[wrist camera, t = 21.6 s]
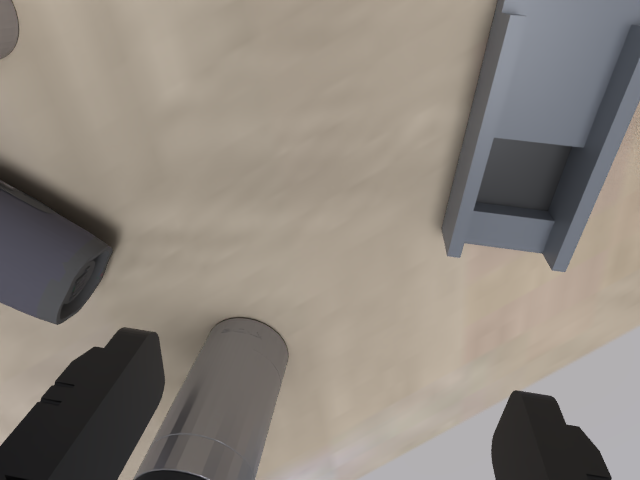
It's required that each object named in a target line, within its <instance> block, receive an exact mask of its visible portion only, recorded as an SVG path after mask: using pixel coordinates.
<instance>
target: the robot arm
mask: <svg viewBox="0 0 640 480" xmlns="http://www.w3.org/2000/svg"><path fill="white" fill-rule="evenodd" d="M287 362H288V350H287V347H286V345H285V343H284V341H283V339H282V338H281V337H280V336H279V334H278V333H276V332H275V331H274V330H273V329H272V328H270V327H268V326H267V325H265V324H263V323H260V322H258V321H255V320H251V319H245V318H234V319H228V320H225V321H222V322H220V323H219V324H217V325H216V326H215V327H214V328H213V329H212V330H211V332H210V334H209V335H208V337H207V339H206V341H205V343H204V345H203V347H202V349H201V350H200V352H199V354H198V356H197V358H196V360H195V361H194V363H193V365H192V367H191V369H190V371H189V373H188V375H187V377H186V379H185V381H184V383H183V384H182V386H181V388H180V390H179V392H178V394H177V396H176V398H175V400H174V402H173V404H172V406H171V407H170V409H169V411H168V413H167V415H166V417H165V419H164V421H163V423H162V425H161V427H160V429H159V430H158V432H157V434H156V436H155V438H154V440H153V442H152V444H151V446H150V448H149V450H148V452H147V454H146V456H145V458H144V460H143V461H142V463H141V465H140V467H139V469H138V471H137V473H136V475H135V477H134V479H133V480H255V477H256V474H257V470H258V466H259V463H260V459H261V455H262V452H263V448H264V445H265V441H266V437H267V434H268V430H269V426H270V423H271V419H272V415H273V412H274V408H275V405H276V401H277V397H278V394H279V391H280V387H281V383H282V380H283V376H284V373H285V369H286V365H287ZM164 384H165V376H164V369H163V362H162V355H161V349H160V342H159V337H158V334H157V333H156V332H151V331H144V330H138V329H132V328H125V327H124V328H121V329H120V330H118V331H117V332H116V334H115V335H114V336H113V337H112V339H111V340H110V341H109V342H108V344H107V345H106V346H105V348H100V347H93V348H92V349H90V350H89V351H87V352H86V353H84V354H83V355H81V356H80V357H78V358H77V359H75V360H74V361H72V362H71V363H70V365H69V366H68V367H67V368H66V369H65V370H64V372H63V373H62V374H61V375H60V376H59V377H58V379H57V380H56V381H55V385H54V386H53V385H52V386H51V387H50V388H49V389H48V390H47V392H46V393H45V394H44V395H43V396H42V398H41V401H40V402H37V403H36V405H35V406H34V407H33V408H32V409H31V411H30V412H29V413H28V414H27V415H26V416H25V418H24V419H23V420H22V421H21V422H20V423H19V425H18V426H17V427H16V428H15V429H14V431H13V432H12V433H11V434H10V435H9V436H8V438H7V439H6V440H5V441H4V442H3V444H2V445H1V446H0V480H117V479H118V477H119V475H120V474H121V472H122V470H123V468H124V466H125V465H126V463H127V461H128V459H129V457H130V456H131V454H132V452H133V450H134V448H135V447H136V445H137V443H138V441H139V439H140V438H141V436H142V434H143V432H144V430H145V428H146V427H147V425H148V423H149V421H150V419H151V418H152V416H153V414H154V412H155V410H156V409H157V407H158V405H159V403H160V400H161V398H162V394H163V390H164ZM491 451H492V453H491V454H492V464H493V469H494V474H495V478H496V480H611V476H610V473H609V471H608V469H607V467H606V464H605V462H604V460H603V458H602V455H601V453H600V451H599V450H598V449H597V447H596V446H595V445H594V444H593V443H592V442H591V441H590V439H589V438H588V437H587V436H586V435H585V433H584V432H583V431H582V430H581V428H580V427H577V426H572V425H566V423H565V420H564V418H563V415H562V413H561V410H560V408H559V405H558V403H557V401H556V400H555V398H554V397H552V396H548V395H541V394H535V393H529V392H523V391H516V390H515V391H513V392H512V394H511V395H510V397H509V400H508V402H507V405H506V407H505V409H504V411H503V414H502V416H501V418H500V421H499V423H498V425H497V428H496V430H495V433H494V435H493V440H492V449H491Z"/></svg>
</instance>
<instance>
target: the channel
mask: <svg viewBox="0 0 640 480" xmlns="http://www.w3.org/2000/svg"><path fill="white" fill-rule="evenodd" d="M639 101H640V0H498V2H497V6H496V10H495V14H494V18H493V22H492V26H491V30H490V34H489V38H488V42H487V46H486V51H485V55H484V59H483V63H482V67H481V71H480V75H479V79H478V83H477V87H476V91H475V95H474V99H473V103H472V107H471V112H470V116H469V120H468V124H467V128H466V132H465V136H464V140H463V144H462V148H461V152H460V156H459V160H458V164H457V168H456V172H455V177H454V181H453V185H452V189H451V193H450V197H449V201H448V205H447V209H446V213H445V217H444V221H443V225H442V233H443V238H444V243H445V248H446V253H447V256H451V257H458V258H460V256H461V253H462V249H463V246H464V243H468V244H475V245H483V246H490V247H498V248H505V249H513V250H520V251H528V252H535V253H542V254H543V255H544V257H545V259H546V261H547V262H548V264H549V266H550V268H551V270H554V271H561V272H565V271H566V269H567V267H568V265H569V262H570V260H571V258H572V255H573V253H574V251H575V248H576V246H577V244H578V241H579V239H580V237H581V235H582V232H583V230H584V228H585V225H586V223H587V221H588V218H589V216H590V214H591V211H592V209H593V207H594V204H595V202H596V200H597V198H598V195H599V193H600V191H601V188H602V186H603V184H604V181H605V179H606V177H607V174H608V172H609V170H610V168H611V165H612V163H613V161H614V158H615V156H616V154H617V151H618V149H619V147H620V144H621V142H622V140H623V137H624V135H625V133H626V131H627V128H628V126H629V124H630V121H631V119H632V117H633V114H634V112H635V110H636V107H637V105H638V103H639Z"/></svg>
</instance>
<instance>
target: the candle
mask: <svg viewBox="0 0 640 480" xmlns="http://www.w3.org/2000/svg"><path fill="white" fill-rule="evenodd" d="M17 38H18V19H17V15H16V11H15V8H14V6H13V3H12V1H11V0H0V59H1V58H3V57H5V56H7V55H8V54H9V53H10V52H11V51H12V50H13V48H14V47H15V45H16V42H17Z"/></svg>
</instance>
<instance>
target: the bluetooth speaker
mask: <svg viewBox="0 0 640 480" xmlns="http://www.w3.org/2000/svg"><path fill="white" fill-rule="evenodd" d="M111 254H112V248H111V247H110V246H109V245H107V244H106V243H105V242H103V241H102V240H100V239H99V238H97V237H96V236H94V235H93V234H91V233H90V232H88V231H86V230H85V229H83V228H81V227H80V226H78V225H76V224H74V223H73V222H71V221H69V220H67V219H66V218H64V217H62V216H61V215H59V214H58V213H56V212H54V211H53V210H52V209H50V208H49V207H48V206H46V205H45V204H43V203H41V202H40V201H38V200H36V199H35V198H33V197H31V196H29V195H27V194H26V193H24V192H22V191H20V190H18V189H16V188H14V187H12V186H10V185H9V184H7V183H5V182H3V181H1V180H0V303H3V304H5V305H7V306H10V307H12V308H14V309H17V310H19V311H21V312H24V313H26V314H28V315H31V316H33V317H36V318H39V319H42V320H45V321H48V322H51V323H54V324H57V325H58V324H61V323H63V322H64V321H66V320H67V319H68V318H70V317H71V316H73V315H74V314H76V313H77V312H78V311H79V310H80V309H81V308H82V307H83V305H84V304H85V303H86V302H87V300H88V299H89V298H90V296H91V295H92V293H93V292H94V291H95V289H96V288H97V286H98V284H99V283H100V281H101V279H102V277H103V275H104V273H105V270H106V266H107V263H108V261H109V258H110V256H111Z"/></svg>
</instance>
